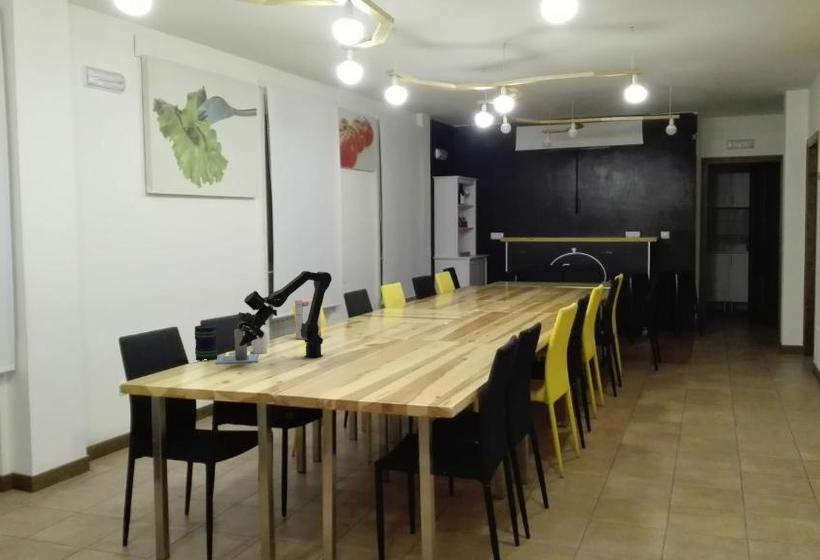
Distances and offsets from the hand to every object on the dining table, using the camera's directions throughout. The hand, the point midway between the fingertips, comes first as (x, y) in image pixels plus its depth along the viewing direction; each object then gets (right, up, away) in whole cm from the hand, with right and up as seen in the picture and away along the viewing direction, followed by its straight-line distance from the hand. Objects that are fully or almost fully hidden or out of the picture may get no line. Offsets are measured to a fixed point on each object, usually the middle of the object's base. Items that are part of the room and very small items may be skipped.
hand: (237, 344), depth 318 cm
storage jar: (-18, -8, +17) cm, 26 cm away
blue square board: (-3, -8, +14) cm, 17 cm away
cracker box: (+20, -3, +77) cm, 80 cm away
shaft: (+1, -7, +1) cm, 7 cm away
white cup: (+3, -7, +33) cm, 34 cm away
